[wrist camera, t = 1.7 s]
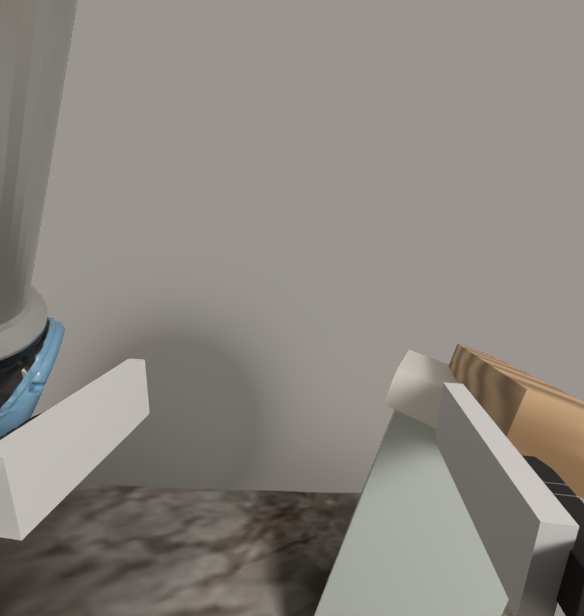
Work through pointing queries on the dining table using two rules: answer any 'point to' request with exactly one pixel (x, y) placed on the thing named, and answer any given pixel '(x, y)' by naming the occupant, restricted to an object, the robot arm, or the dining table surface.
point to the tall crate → (412, 521)
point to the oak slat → (527, 412)
